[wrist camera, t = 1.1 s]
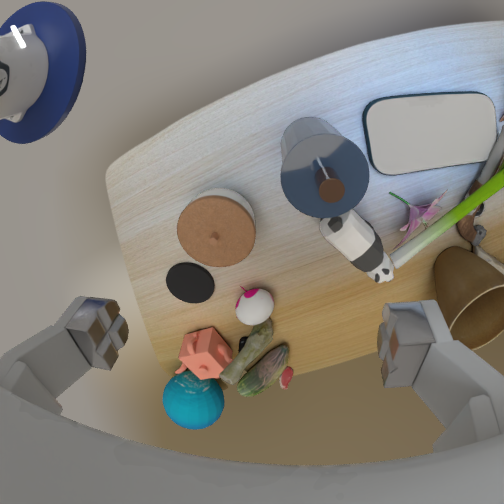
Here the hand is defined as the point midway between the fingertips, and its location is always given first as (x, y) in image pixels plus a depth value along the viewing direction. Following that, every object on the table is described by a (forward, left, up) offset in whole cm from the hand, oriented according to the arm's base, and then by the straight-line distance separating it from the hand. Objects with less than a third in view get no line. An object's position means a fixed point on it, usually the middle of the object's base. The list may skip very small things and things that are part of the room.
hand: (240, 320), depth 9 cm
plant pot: (+40, -13, -37) cm, 56 cm away
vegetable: (+12, -60, -33) cm, 70 cm away
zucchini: (+4, -42, -25) cm, 49 cm away
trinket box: (-3, -15, -37) cm, 40 cm away
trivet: (-6, -31, -37) cm, 48 cm away
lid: (+7, -2, -23) cm, 24 cm away
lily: (+20, -5, -35) cm, 41 cm away
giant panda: (+18, -12, -37) cm, 42 cm away
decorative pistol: (+43, +4, -33) cm, 54 cm away
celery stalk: (+23, -12, -29) cm, 38 cm away
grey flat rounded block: (+24, +8, -37) cm, 44 cm away
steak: (+22, -54, -36) cm, 69 cm away
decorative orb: (+1, -69, -26) cm, 74 cm away
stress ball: (+6, -30, -37) cm, 48 cm away
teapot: (0, -46, -37) cm, 59 cm away
